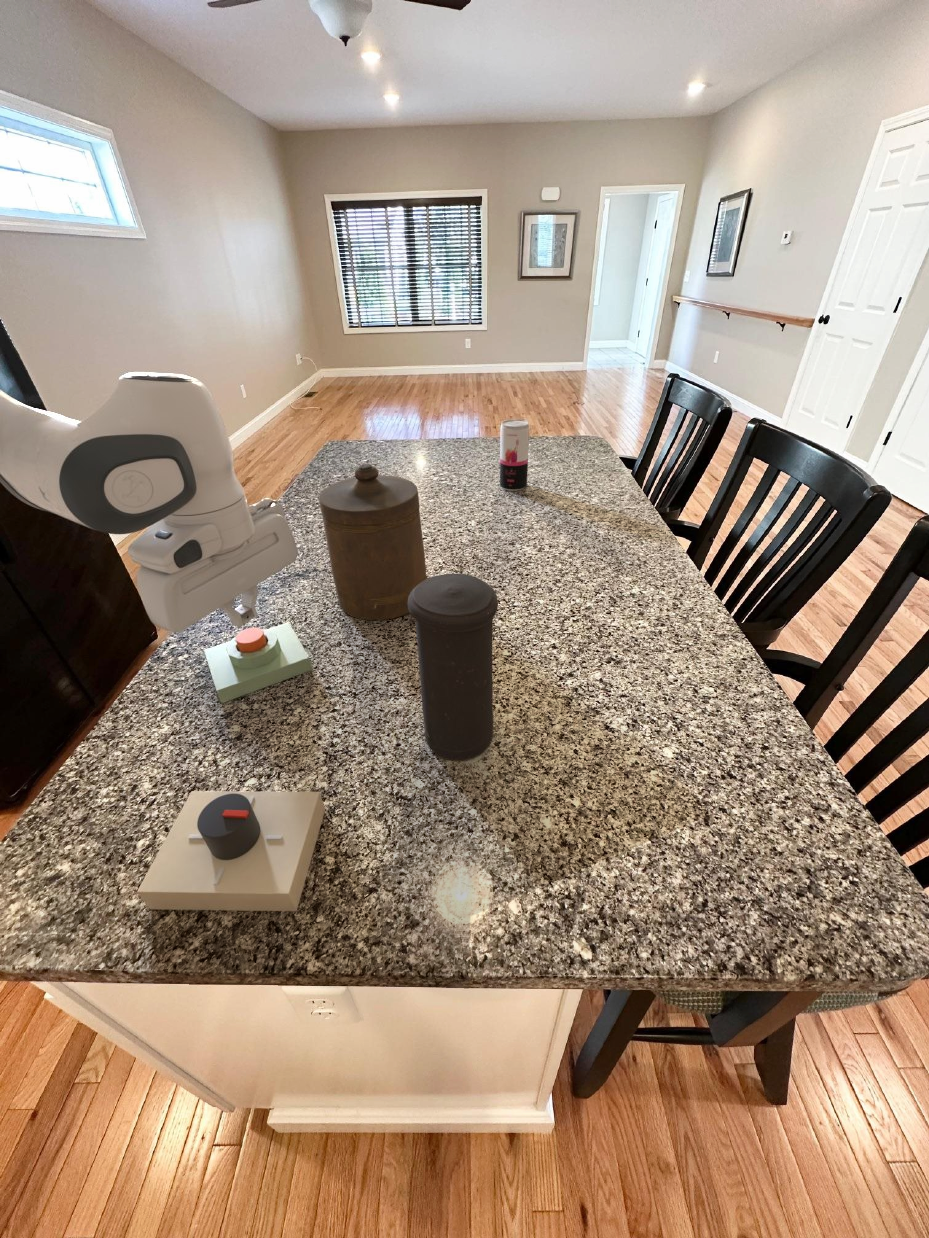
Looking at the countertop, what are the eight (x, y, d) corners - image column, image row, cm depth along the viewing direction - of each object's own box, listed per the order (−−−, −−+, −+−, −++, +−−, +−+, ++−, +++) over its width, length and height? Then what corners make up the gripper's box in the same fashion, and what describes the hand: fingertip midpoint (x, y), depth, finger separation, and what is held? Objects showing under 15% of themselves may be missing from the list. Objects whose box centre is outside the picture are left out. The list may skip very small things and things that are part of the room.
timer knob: (200, 859, 45) (185, 834, 43) (223, 814, 49) (210, 790, 47) (248, 861, 45) (236, 836, 43) (267, 816, 49) (257, 791, 46)
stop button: (242, 657, 68) (238, 646, 67) (236, 643, 70) (232, 632, 69) (269, 647, 69) (266, 637, 68) (263, 634, 72) (259, 624, 71)
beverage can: (513, 493, 121) (515, 428, 113) (494, 486, 125) (494, 423, 117) (532, 486, 125) (535, 422, 116) (512, 479, 129) (514, 417, 120)
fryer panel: (150, 909, 45) (135, 890, 43) (201, 809, 53) (190, 789, 51) (296, 911, 44) (288, 892, 42) (325, 809, 52) (319, 790, 51)
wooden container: (393, 565, 94) (378, 444, 82) (445, 595, 85) (438, 465, 73) (321, 595, 86) (292, 467, 74) (371, 633, 77) (347, 493, 65)
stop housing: (221, 703, 66) (211, 680, 63) (208, 661, 73) (199, 639, 70) (312, 669, 71) (306, 647, 68) (292, 633, 78) (286, 612, 75)
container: (478, 698, 65) (476, 559, 54) (509, 750, 58) (513, 602, 47) (413, 718, 63) (396, 576, 51) (436, 773, 56) (422, 624, 44)
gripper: (260, 489, 68) (284, 578, 76) (111, 555, 54) (161, 657, 62) (295, 496, 65) (317, 588, 73) (149, 568, 51) (196, 673, 59)
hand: (245, 620), depth 67 cm, fingers closed
